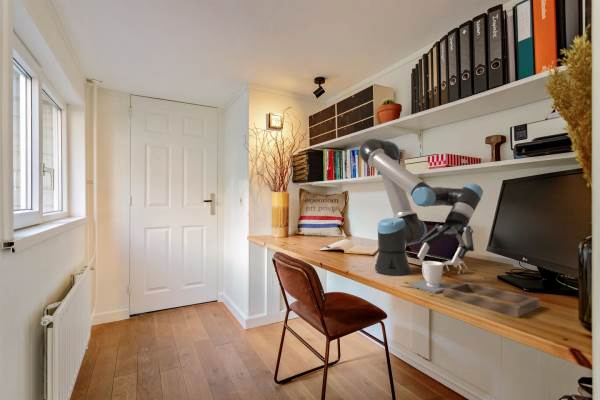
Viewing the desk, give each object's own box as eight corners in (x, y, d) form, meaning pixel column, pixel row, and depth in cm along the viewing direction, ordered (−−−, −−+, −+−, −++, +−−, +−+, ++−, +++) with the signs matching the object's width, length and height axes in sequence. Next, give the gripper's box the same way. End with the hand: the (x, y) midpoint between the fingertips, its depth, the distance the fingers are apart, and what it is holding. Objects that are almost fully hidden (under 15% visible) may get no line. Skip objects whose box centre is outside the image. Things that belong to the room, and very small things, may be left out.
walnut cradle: (443, 296, 94) (443, 288, 94) (466, 289, 101) (465, 282, 101) (518, 317, 76) (517, 308, 76) (539, 307, 83) (539, 298, 83)
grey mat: (408, 286, 106) (408, 283, 106) (427, 281, 112) (427, 279, 112) (435, 293, 97) (435, 291, 97) (454, 288, 103) (454, 285, 103)
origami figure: (450, 269, 130) (450, 258, 130) (469, 273, 122) (468, 261, 122) (433, 273, 124) (432, 261, 124) (451, 277, 116) (451, 265, 116)
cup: (429, 288, 100) (429, 265, 100) (414, 281, 110) (414, 259, 110) (448, 287, 101) (447, 264, 101) (431, 279, 111) (431, 258, 111)
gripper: (498, 225, 102) (475, 274, 95) (434, 221, 124) (412, 261, 117) (489, 211, 99) (465, 261, 92) (426, 210, 121) (402, 250, 114)
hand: (435, 261), depth 104 cm, fingers open, 13 cm apart
